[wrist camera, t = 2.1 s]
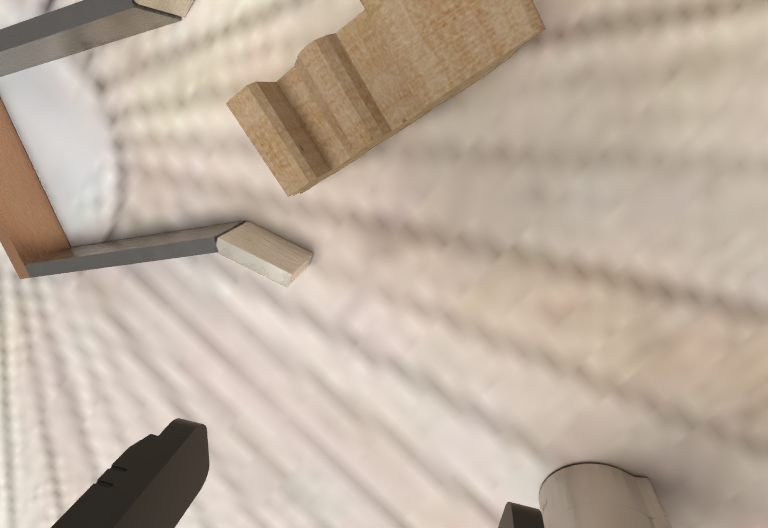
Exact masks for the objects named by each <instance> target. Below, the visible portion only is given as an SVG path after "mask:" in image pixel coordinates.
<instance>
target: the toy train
mask: <svg viewBox="0 0 768 528" xmlns="http://www.w3.org/2000/svg"><path fill="white" fill-rule="evenodd" d="M360 1H361V3H362V5H363V6H364V8H365V10H364V11H363V12H362V13H360V14H359V15H358V16H357V17H356V18H354V19H353V20H352V21H351V22H349V23H348V24H347V25H346V26H344V27H343V28H342V29H341V30H339V31H338V32H337V33H335V34H331V35H326V36H324V37H321V38H319V39H317V40H314V41H313V42H312V43H310V44H309V45H307V46H306V47H305V48H304V49H303V50H302V51H301V53H300V54H299V55H298V57H297V60H296V63H295V66H294V67H293V68H292V69H291V70H290V71H289V72H287V73H286V74H285V75H284V76H283V77H282V78H280V79H279V80H278V81H277V82H254V83H252V84H249V85H247V86H246V87H245V88H243V89H242V90H241V91H240V92H239V93H237V94H236V95H235V96H234V97H233V98H232V99H230V100H229V101H228V102H227V103H226V104H227V106H228V107H229V109H230V110H231V112H232V113H233V115H234V116H235V118H236V119H237V121H238V122H239V124H240V125H241V127H242V128H243V130H244V131H245V133H246V134H247V136H248V137H249V139H250V140H251V142H252V143H253V145H254V146H255V148H256V149H257V151H258V152H259V154H260V155H261V157H262V158H263V160H264V161H265V163H266V164H267V166H268V167H269V169H270V170H271V172H272V173H273V175H274V176H275V178H276V179H277V181H278V182H279V184H280V185H281V187H282V188H283V190H284V191H285V193H286V194H287V196H288V197H289V196H291V195H292V194H293V196H294V195H295V194H297V193H299V192H300V194H301V193H303V192H305V191H307V190H308V189H310V188H311V187H313V186H314V185H316V184H317V183H319V182H321V181H322V180H324V179H325V178H327V177H329V176H330V175H332V174H334V173H336V172H337V171H339V170H341V169H342V168H344V167H345V166H347V165H348V164H350V163H352V162H353V161H355V160H356V159H358V158H359V157H361V156H362V155H363V154H364V153H365V152H367V151H368V150H370V149H371V148H373V147H374V146H376V145H377V144H379V143H381V142H382V141H384V140H386V139H388V138H389V137H391V136H393V135H394V134H396V133H397V132H399V131H401V130H402V129H404V128H405V127H407V126H408V125H410V124H411V123H413V122H414V121H416V120H417V119H419V118H420V117H422V116H423V115H425V114H426V113H427V112H429V111H430V110H431V109H433V108H434V107H436V106H437V105H439V104H441V103H443V102H445V101H446V100H448V99H450V98H451V97H453V96H454V95H456V94H458V93H459V92H461V91H462V90H464V89H465V88H467V87H468V86H470V85H472V84H473V83H475V82H476V81H478V80H479V79H481V78H482V77H484V76H485V75H487V74H488V73H489V72H491V71H492V70H494V69H495V68H496V67H498V66H499V65H500V64H502V63H503V62H505V61H506V60H507V59H509V58H510V57H511V56H512V55H513V54H514V53H515V51H516V50H517V49H518V48H519V47H520V46H522V45H523V44H525V43H526V42H528V41H529V40H530V39H532V38H533V37H535V36H536V35H537V34H539V33H540V32H541V31H543V30H544V29H545V27H544V25H543V22H542V20H541V18H540V16H539V14H538V12H537V9H536V7H535V5H534V3H533V1H532V0H360Z"/></svg>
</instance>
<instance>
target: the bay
mask: <svg viewBox="0 0 768 528" xmlns="http://www.w3.org/2000/svg"><path fill="white" fill-rule="evenodd" d="M193 2H194V0H83V1H80V2H78V3H75V4H72V5H69V6H66V7H63V8H60V9H58V10H55V11H52V12H49V13H46V14H43V15H41V16H38V17H35V18H32V19H29V20H26V21H23V22H21V23H18V24H15V25H12V26H9V27H6V28H3V29H1V30H0V77H1V76H4V75H7V74H10V73H14V72H17V71H20V70H23V69H27V68H30V67H33V66H36V65H39V64H43V63H46V62H49V61H52V60H56V59H59V58H62V57H65V56H68V55H72V54H75V53H78V52H81V51H84V50H88V49H91V48H94V47H97V46H101V45H104V44H107V43H110V42H113V41H117V40H120V39H123V38H126V37H130V36H133V35H136V34H139V33H142V32H146V31H149V30H152V29H155V28H158V27H162V26H165V25H168V24H171V23H175V22H178V21H181V18H180V16H181V17H185V16H186V14H187V13H188V11H189V9H190V7H191V6H192V4H193ZM0 242H1V244H2V246H3V247H4V249H5V251H6V253H7V255H8V257H9V259H10V261H11V263H12V264H13V266H14V268H15V270H16V272H17V274H18V276H19V278H20V279H24V278H31V277H38V276H46V275H53V274H61V273H68V272H75V271H83V270H90V269H98V268H105V267H112V266H120V265H127V264H134V263H142V262H149V261H157V260H164V259H171V258H179V257H186V256H193V255H201V254H208V253H216V252H217V253H219V254H221V255H223V256H225V257H227V258H229V259H231V260H233V261H235V262H237V263H239V264H241V265H243V266H245V267H247V268H249V269H251V270H253V271H255V272H257V273H259V274H261V275H263V276H265V277H267V278H269V279H271V280H273V281H275V282H277V283H279V284H281V285H283V286H285V287H288V286H289V285H290V284H291V283H292V282H293V281H294V280H295V279H296V278H297V277H298V276H299V275H300V274H301V273H302V272H303V271H304V270H305V269H306V268H307V267H308V266H309V264H310V261H311V259H312V256H313V254H314V253H312V252H310V251H308V250H306V249H304V248H302V247H299V246H297V245H295V244H293V243H291V242H289V241H287V240H285V239H283V238H281V237H279V236H277V235H275V234H273V233H271V232H269V231H267V230H265V229H263V228H261V227H259V226H257V225H255V224H253V223H251V222H249V221H248V222H246V223H245V221H239V222H232V223H226V224H220V225H213V226H207V227H200V228H194V229H187V230H181V231H174V232H168V233H162V234H155V235H149V236H142V237H136V238H129V239H123V240H116V241H110V242H104V243H97V244H91V245H84V246H78V247H70V245H69V243H68V241H67V239H66V237H65V234H64V232H63V230H62V228H61V226H60V224H59V222H58V220H57V217H56V215H55V213H54V211H53V209H52V207H51V205H50V203H49V200H48V198H47V196H46V194H45V192H44V190H43V188H42V186H41V183H40V181H39V179H38V177H37V175H36V173H35V171H34V169H33V166H32V164H31V162H30V160H29V158H28V156H27V154H26V152H25V149H24V147H23V145H22V143H21V141H20V139H19V137H18V135H17V132H16V130H15V128H14V126H13V124H12V122H11V120H10V118H9V115H8V113H7V111H6V109H5V107H4V105H3V103H2V101H1V98H0Z"/></svg>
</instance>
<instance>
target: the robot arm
mask: <svg viewBox="0 0 768 528" xmlns="http://www.w3.org/2000/svg"><path fill="white" fill-rule="evenodd" d="M208 471H209V452H208V439H207V428H206V426H205V425H204V424H200V423H196V422H192V421H188V420H184V419H180V418H177V419H175V420H173V421H172V422H171V423H170V424H169V425H168V426H167V427H166V428H165V429H164V430H163V431H162V433H161V434H160V435H159V436H156V435H153V434H150V435H148V436H147V437H145V438H143V439H142V440H140V441H139V442H137V443H135V444H134V445H132V446H130V447H129V448H128V449H127V450H126V451H125V452H124V453H123V454H122V455H121V456H120V457H119V458H118V459H117V460H116V461H115V462H114V463H113V464H112V467H111V468H110V469H107V470H106V472H105V473H104V474H103V475H102V476H101V477H100V478H99V479H98V481H97V483H96V484H93V485H92V486H91V487H90V488H89V489H88V490H87V491H86V492H85V493H84V494H83V495H82V496H81V497H80V498H79V499H78V500H77V501H76V502H75V503H74V504H73V505H72V506H71V508H70V509H69V510H68V511H67V512H66V513H65V514H64V515H63V516H62V517H61V518H60V519H59V520H58V521H57V522H56V523H55V524H54V525H53V526H52V527H51V528H175V526H176V525H177V523H178V522H179V520H180V519H181V517H182V516H183V515H184V513H185V512H186V510H187V509H188V507H189V506H190V504H191V503H192V501H193V500H194V498H195V497H196V496H197V494H198V493H199V491H200V490H201V488H202V486H203V484H204V482H205V480H206V477H207V475H208ZM539 503H540V509H541V511H540V510H539V509H536V508H532V507H528V506H524V505H520V504H516V503H512V502H507V504H506V506H505V509H504V512H503V515H502V518H501V521H500V524H499V527H498V528H671V526H670V524H669V522H668V520H667V518H666V515H665V513H664V511H663V509H662V507H661V505H660V502H659V500H658V498H657V496H656V494H655V492H654V489H653V487H652V485H651V483H650V481H649V479H648V478H645V477H634V476H632V475H630V474H628V473H626V472H624V471H622V470H620V469H617V468H614V467H611V466H607V465H601V464H578V465H573V466H569V467H566V468H563V469H561V470H559V471H557V472H555V473H554V474H552V475H551V476H550V477H549V478H547V480H546V481H545V482H544V484H543V485H542V487H541V490H540V492H539Z"/></svg>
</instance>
